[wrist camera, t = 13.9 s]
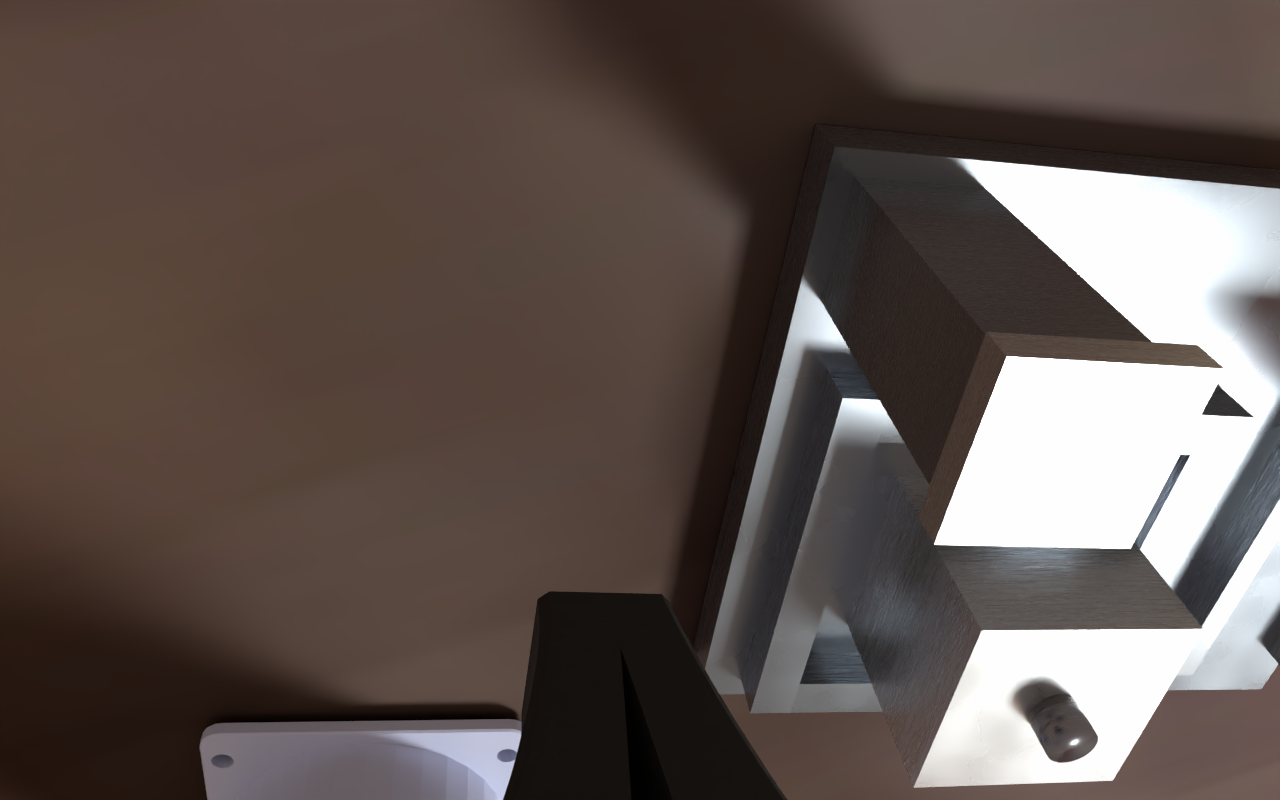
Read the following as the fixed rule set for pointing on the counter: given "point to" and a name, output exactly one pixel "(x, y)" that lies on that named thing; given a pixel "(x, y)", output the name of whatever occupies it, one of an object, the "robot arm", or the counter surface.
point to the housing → (1013, 652)
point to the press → (1006, 394)
